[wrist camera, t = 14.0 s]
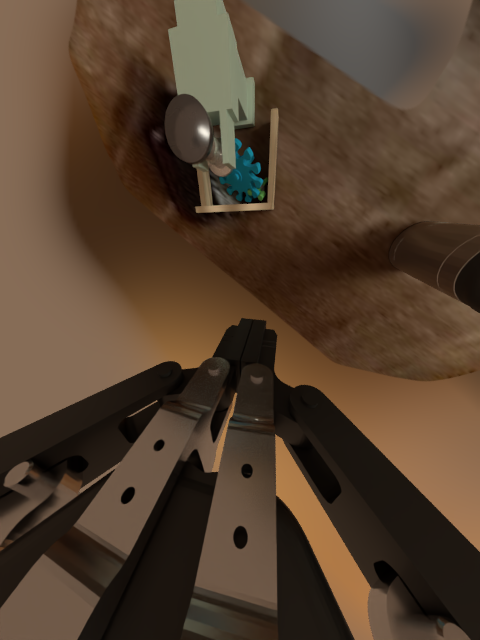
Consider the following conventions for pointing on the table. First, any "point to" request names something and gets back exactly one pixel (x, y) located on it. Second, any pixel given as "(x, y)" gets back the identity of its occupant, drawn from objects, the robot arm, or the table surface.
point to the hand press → (212, 70)
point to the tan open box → (208, 205)
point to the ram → (193, 134)
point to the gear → (245, 176)
